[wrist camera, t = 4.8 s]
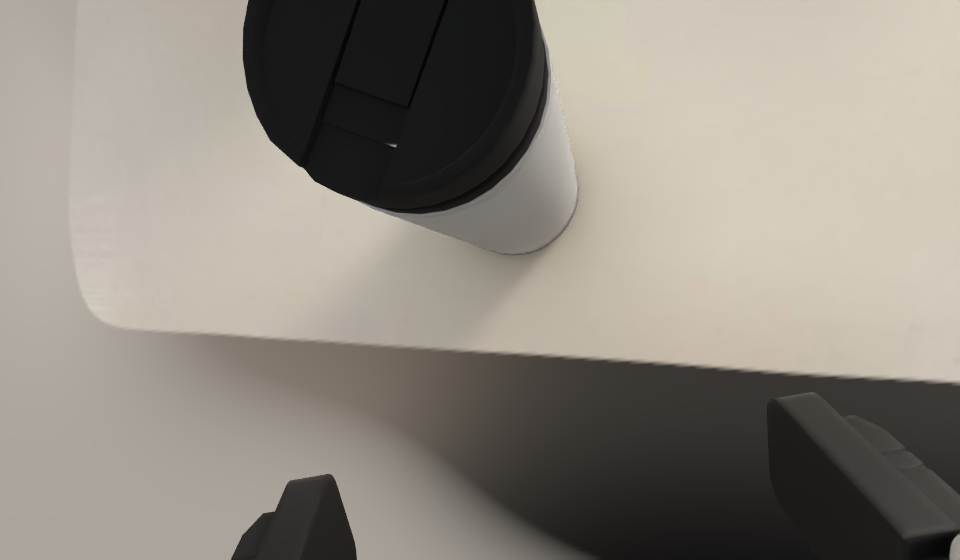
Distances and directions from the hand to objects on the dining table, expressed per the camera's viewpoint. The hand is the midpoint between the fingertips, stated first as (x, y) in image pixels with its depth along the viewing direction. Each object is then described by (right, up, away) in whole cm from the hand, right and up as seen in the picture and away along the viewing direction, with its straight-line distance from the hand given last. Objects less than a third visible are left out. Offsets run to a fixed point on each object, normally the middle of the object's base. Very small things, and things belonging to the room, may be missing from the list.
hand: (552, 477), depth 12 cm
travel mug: (+1, +8, +20) cm, 22 cm away
